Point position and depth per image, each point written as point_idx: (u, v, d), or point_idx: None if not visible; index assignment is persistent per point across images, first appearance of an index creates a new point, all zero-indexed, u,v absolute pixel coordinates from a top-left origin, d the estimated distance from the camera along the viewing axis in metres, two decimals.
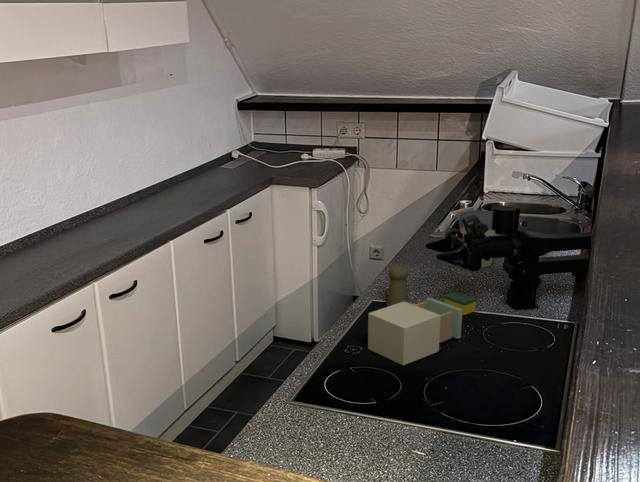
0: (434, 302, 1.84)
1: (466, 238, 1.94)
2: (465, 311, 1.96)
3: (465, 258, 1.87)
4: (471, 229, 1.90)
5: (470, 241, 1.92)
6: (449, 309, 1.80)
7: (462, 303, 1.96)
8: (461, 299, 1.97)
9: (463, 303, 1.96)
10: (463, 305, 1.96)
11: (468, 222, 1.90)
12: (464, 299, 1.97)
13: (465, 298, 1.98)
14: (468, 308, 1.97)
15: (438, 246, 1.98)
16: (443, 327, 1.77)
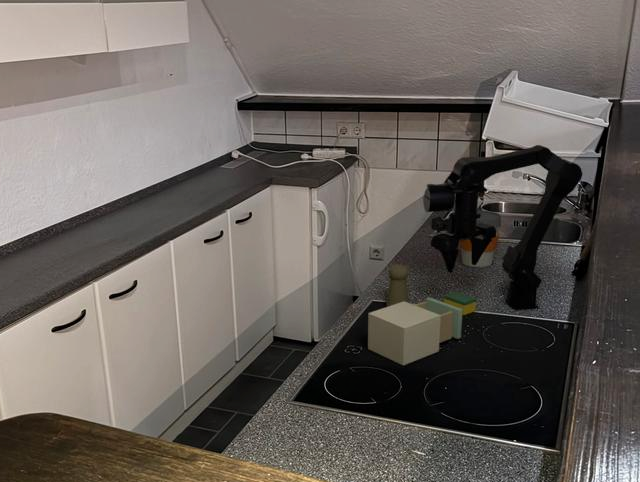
0: (434, 302, 1.84)
1: None
2: (465, 311, 1.96)
3: None
4: (440, 230, 1.96)
5: None
6: (449, 309, 1.80)
7: (462, 303, 1.96)
8: (461, 299, 1.97)
9: (463, 303, 1.96)
10: (463, 305, 1.96)
11: None
12: (464, 299, 1.97)
13: (465, 298, 1.98)
14: (468, 308, 1.97)
15: (476, 252, 1.97)
16: (443, 327, 1.77)
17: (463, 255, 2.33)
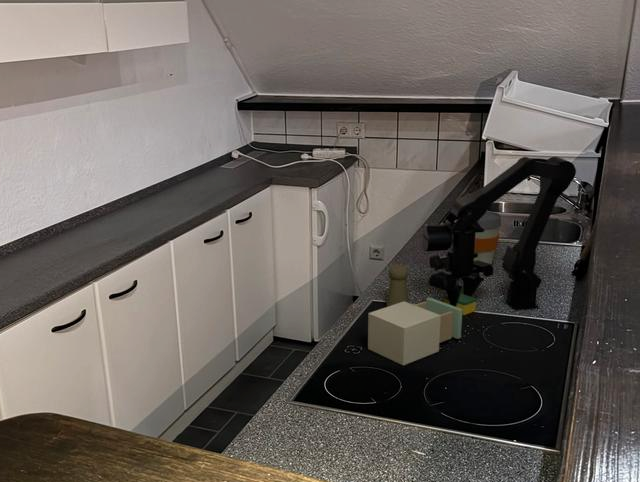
0: (434, 302, 1.84)
1: None
2: (465, 311, 1.96)
3: None
4: (438, 268, 1.99)
5: None
6: (449, 309, 1.80)
7: (462, 303, 1.96)
8: (461, 299, 1.97)
9: (463, 303, 1.96)
10: (463, 305, 1.96)
11: None
12: (464, 299, 1.97)
13: (465, 298, 1.98)
14: (468, 308, 1.97)
15: (467, 291, 2.00)
16: (443, 327, 1.77)
17: None
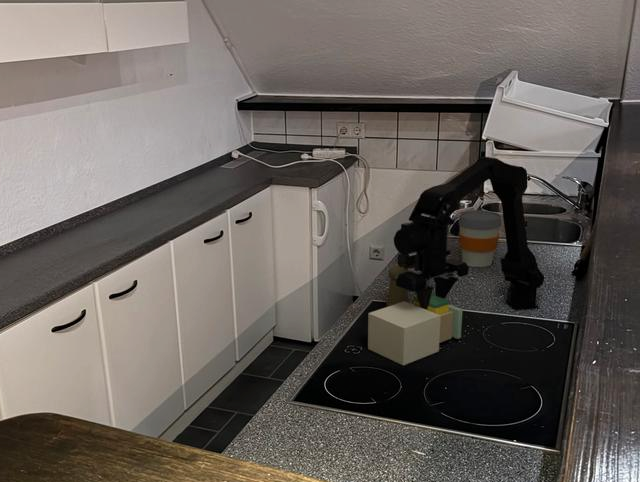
0: None
1: None
2: None
3: None
4: (407, 267, 1.79)
5: None
6: (449, 309, 1.80)
7: (433, 306, 1.76)
8: (432, 301, 1.77)
9: (434, 306, 1.76)
10: (434, 308, 1.76)
11: None
12: (435, 301, 1.77)
13: (437, 300, 1.78)
14: (440, 311, 1.77)
15: (440, 293, 1.80)
16: (443, 327, 1.77)
17: (463, 255, 2.33)
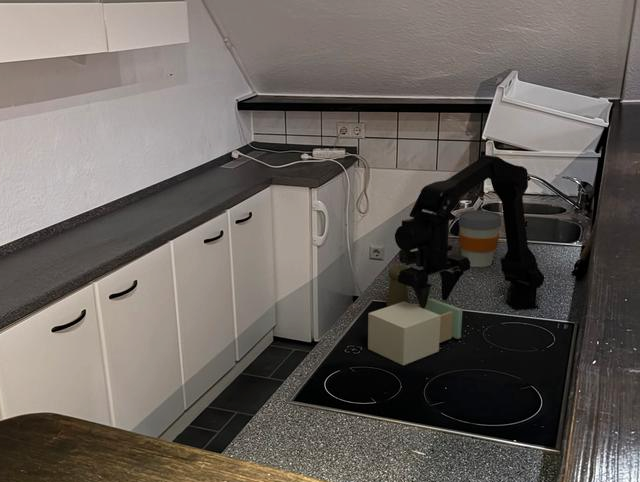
0: (434, 302, 1.84)
1: None
2: None
3: None
4: (409, 263, 1.79)
5: None
6: (449, 309, 1.80)
7: None
8: None
9: None
10: None
11: None
12: None
13: None
14: None
15: (446, 287, 1.80)
16: (443, 327, 1.77)
17: (463, 255, 2.33)
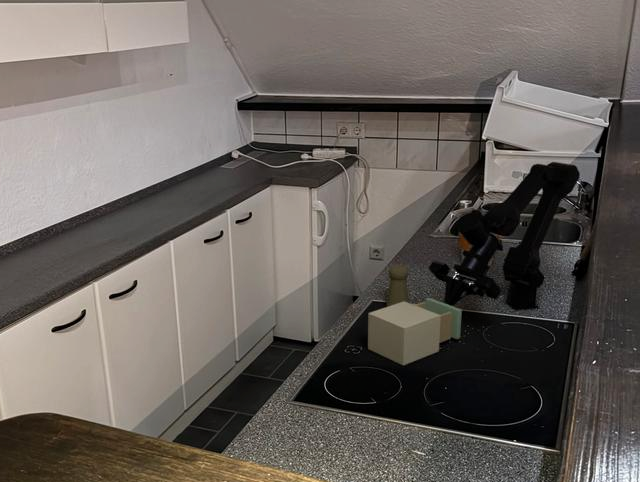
0: (433, 302, 1.84)
1: None
2: None
3: None
4: None
5: None
6: (448, 309, 1.80)
7: None
8: None
9: None
10: None
11: None
12: None
13: None
14: None
15: None
16: (442, 327, 1.77)
17: (463, 255, 2.33)
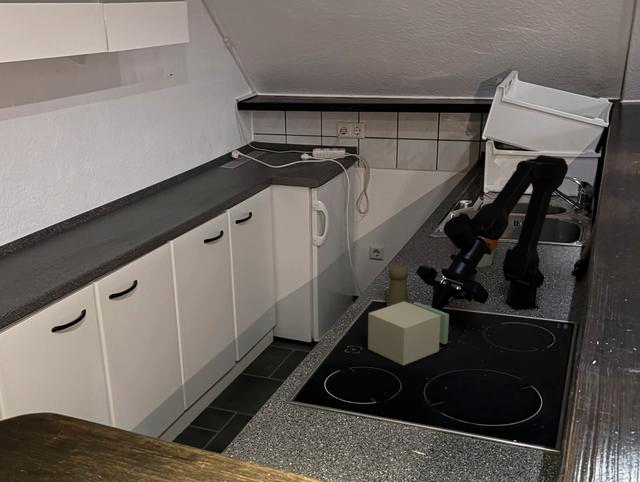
0: (420, 307, 1.81)
1: None
2: None
3: None
4: None
5: None
6: None
7: None
8: None
9: None
10: None
11: None
12: None
13: None
14: None
15: None
16: None
17: None
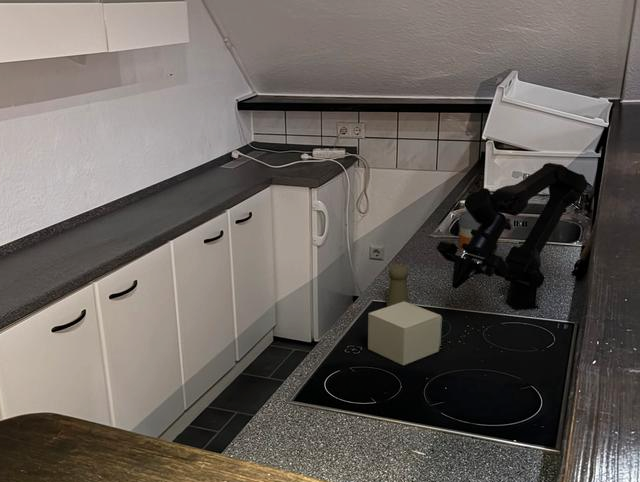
0: None
1: None
2: None
3: None
4: None
5: None
6: None
7: None
8: None
9: None
10: None
11: None
12: None
13: None
14: None
15: None
16: None
17: None
